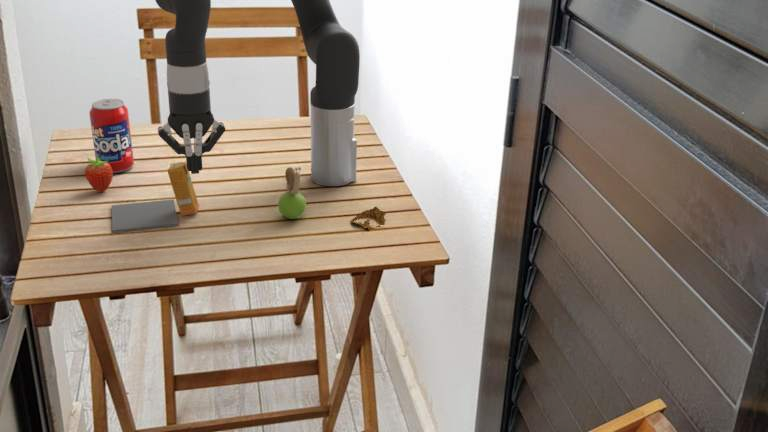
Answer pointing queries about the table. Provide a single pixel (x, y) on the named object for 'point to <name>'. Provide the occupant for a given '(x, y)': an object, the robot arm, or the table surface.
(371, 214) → the leaf
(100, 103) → the soda can
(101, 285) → the table surface
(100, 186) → the fruit
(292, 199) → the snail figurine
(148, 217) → the mat
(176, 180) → the supplement box
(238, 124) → the table surface
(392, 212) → the table surface
